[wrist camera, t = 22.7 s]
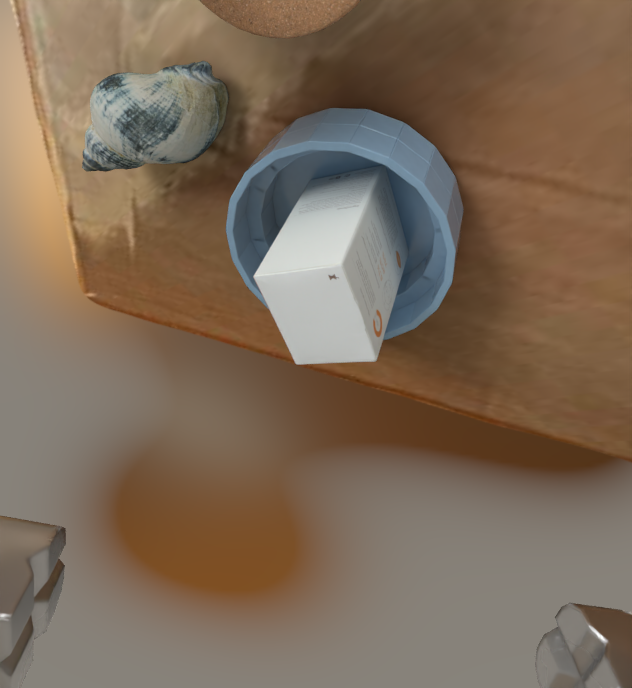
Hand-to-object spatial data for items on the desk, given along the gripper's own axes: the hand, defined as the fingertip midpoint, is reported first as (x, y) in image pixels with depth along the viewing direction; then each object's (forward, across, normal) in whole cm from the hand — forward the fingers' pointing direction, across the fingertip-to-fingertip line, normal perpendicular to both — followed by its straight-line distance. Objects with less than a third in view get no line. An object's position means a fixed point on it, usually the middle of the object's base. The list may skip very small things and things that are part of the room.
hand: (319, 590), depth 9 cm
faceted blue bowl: (+39, -4, +2) cm, 40 cm away
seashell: (+42, +12, -2) cm, 44 cm away
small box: (+39, -5, +2) cm, 39 cm away
